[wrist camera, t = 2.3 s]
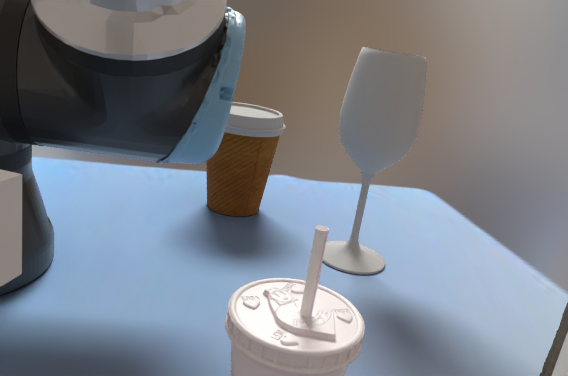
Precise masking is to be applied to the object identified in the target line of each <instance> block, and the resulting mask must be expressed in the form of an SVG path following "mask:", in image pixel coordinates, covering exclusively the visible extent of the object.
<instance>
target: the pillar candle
mask: <svg viewBox="0 0 568 376" xmlns="http://www.w3.org/2000/svg"><path fill="white" fill-rule="evenodd" d="M567 332H568V303H567V306H566V308H565V310H564V313H563V317H562V320H561V323H560V326H559V329H558V330H557V333H556V336H555V339H554V341H553V344H552V347H551V349H550V351H549V353H548V356H547V358H546V361H545V362H544V366H543V370H542V372H541V373H540V376H552V373H553V371H554V368H555V365H556V362H557V360H558V357H559V354H560V351H561V349H562V346H563V343H564V340H565V338H566V335H567Z"/></svg>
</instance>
